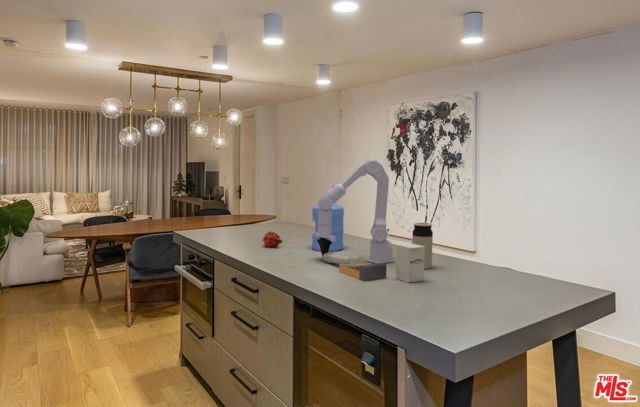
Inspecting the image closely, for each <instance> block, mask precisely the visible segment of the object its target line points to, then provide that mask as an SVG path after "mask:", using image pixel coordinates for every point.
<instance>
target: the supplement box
mask: <svg viewBox="0 0 640 407" xmlns="http://www.w3.org/2000/svg"><path fill="white" fill-rule="evenodd" d="M424 254H425V246H420V245H416V244H412V243H404V244H396V256H395V257H396V261H395V279H397V280H400V281H401V282H405V283H409V284H410V283H414V282H424V280H425V269H424Z"/></svg>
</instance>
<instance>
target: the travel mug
mask: <svg viewBox="0 0 640 407" xmlns="http://www.w3.org/2000/svg"><path fill="white" fill-rule="evenodd" d="M413 226H414V229H413V230H412V239H411V241H412V243H411V244H416V245H420V246H425V254H424V270H429V269H432V267H433V234H434V232H433V230H432V226H433V224H432V223H429V222H414V223H413Z"/></svg>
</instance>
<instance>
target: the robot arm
mask: <svg viewBox="0 0 640 407" xmlns="http://www.w3.org/2000/svg"><path fill="white" fill-rule="evenodd" d="M367 175H369V176H371V177H372V178H373V179H374V180H375V182H377V184H376V196H375V197H376V198H375V206H374V207H375V208H374V210H375V211H374V219H373V225H372V227H371V229H370V235H371V236H372V238H371V239H370V242H369V243H370V244H369V245H370V249H369V251H370V252H369V258H366V259H365V261H367V262H370V263H371V264H377V263H383V264H388V263H394V262H395V260H394V246H393V243H392V242H391V240H388V239H387V238H388V234H389V233H388V231H387V218H386V217H387V208H388V196H389V184H390V181H389V180H390V178H389V175H388V174H387V171H386V170H385V168H384V166H383V165H382V164H381V162H379V161H378V160H377V159H372V158H371V159H368V160H366V161H365V162H364V163H362V164H361V165H360V166H358V167H357V168H355V170H353V172H351V173H350V174H349V175H348V176H347V177H346V178H345V179H344V180H343V181H342V182H341V183H336V184H332V185H331V188H330V189H329V190H328V191H327V192H325V193H323V196H321V197H320V198H319V200H318V203H317V205H318V204H319V207H320V208H319V214H318V232H315V231H314V233H315V237H319V238H320V239H317V242H318V243H319V246H320V249H321V251H320V252H321V256H322V255H323V254H324V253H329V252H328V251H329V248H330V245H331V243H332V242H333V241H336V237H335V236H333V235H332V214H331V207H332V204H333V203H336V204H337V202H338V201H339V200H340V199H342V197H344V196H346V194H347V193H346V192H347V189H348V188H349V187H350V186H351V185H353V183H355V182H356V181H357V180H358V179H359V178H361V177H365V176H367Z"/></svg>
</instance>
